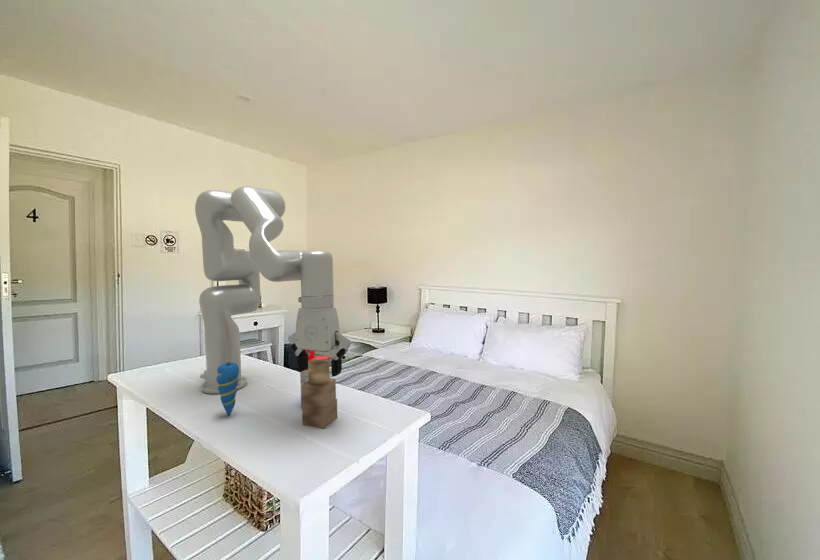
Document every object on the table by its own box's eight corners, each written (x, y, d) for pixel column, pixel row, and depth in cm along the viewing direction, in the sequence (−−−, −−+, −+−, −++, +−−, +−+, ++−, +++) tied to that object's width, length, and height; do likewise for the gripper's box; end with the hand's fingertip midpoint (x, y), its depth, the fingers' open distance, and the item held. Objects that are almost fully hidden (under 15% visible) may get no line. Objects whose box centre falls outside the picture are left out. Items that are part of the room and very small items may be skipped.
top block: (302, 406, 85) (301, 385, 85) (313, 396, 91) (313, 377, 91) (325, 408, 84) (325, 387, 84) (335, 398, 90) (335, 378, 90)
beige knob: (304, 384, 86) (303, 363, 86) (316, 377, 91) (315, 358, 90) (322, 386, 84) (321, 365, 84) (333, 379, 89) (333, 359, 89)
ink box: (317, 408, 96) (315, 354, 95) (300, 406, 97) (298, 353, 96) (330, 395, 104) (329, 346, 103) (314, 394, 105) (313, 345, 104)
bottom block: (302, 425, 86) (301, 405, 86) (317, 414, 92) (316, 395, 92) (323, 429, 84) (323, 408, 84) (337, 418, 90) (337, 398, 90)
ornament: (219, 413, 93) (216, 356, 92) (241, 409, 95) (238, 354, 94) (217, 421, 89) (214, 361, 87) (240, 417, 91) (238, 359, 89)
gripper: (277, 303, 86) (280, 373, 87) (340, 306, 80) (342, 381, 81) (297, 299, 93) (299, 364, 94) (357, 301, 87) (358, 371, 88)
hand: (319, 372), depth 87 cm, fingers open, 9 cm apart
